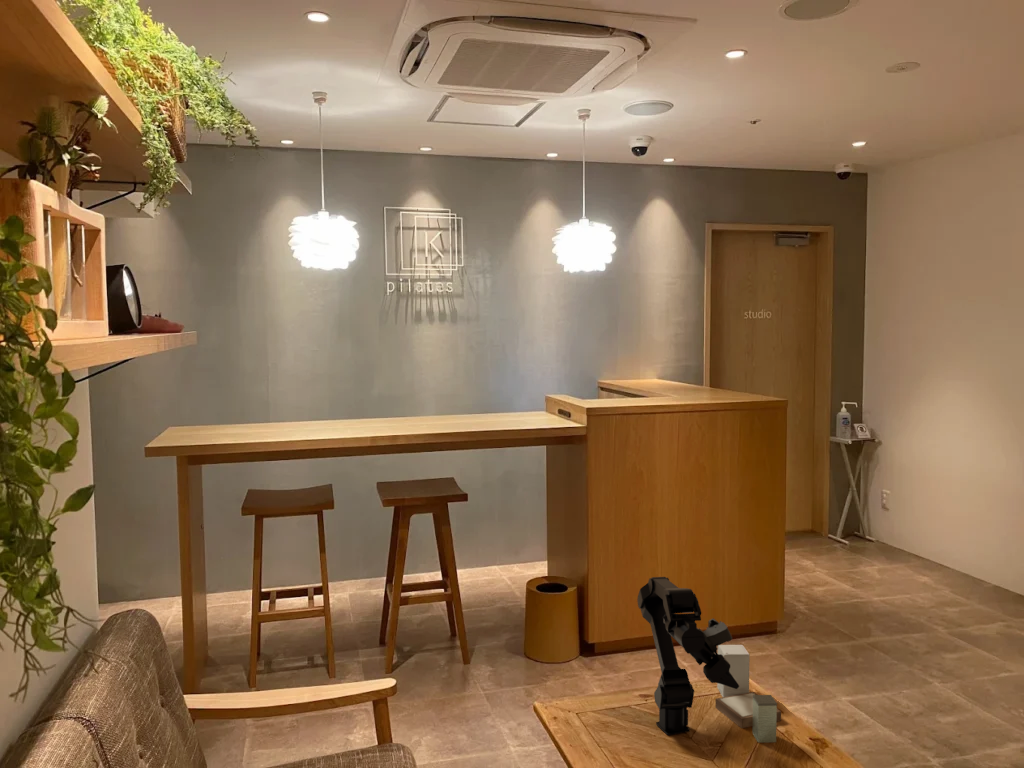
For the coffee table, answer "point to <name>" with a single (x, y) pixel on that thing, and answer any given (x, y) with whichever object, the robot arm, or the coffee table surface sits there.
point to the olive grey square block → (764, 718)
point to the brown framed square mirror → (739, 709)
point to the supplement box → (735, 669)
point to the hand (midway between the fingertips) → (732, 679)
